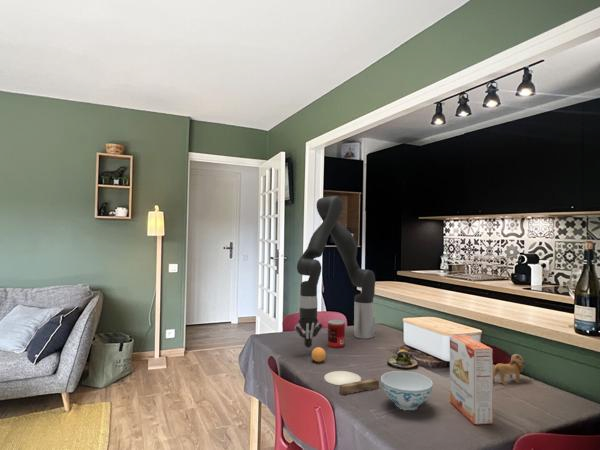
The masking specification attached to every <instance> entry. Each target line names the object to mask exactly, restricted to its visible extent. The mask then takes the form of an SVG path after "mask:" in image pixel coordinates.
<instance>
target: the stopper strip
mask: <svg viewBox="0 0 600 450" xmlns="http://www.w3.org/2000/svg"><path fill="white" fill-rule="evenodd" d="M338 386H339V392H338V393H339V394H341V396H344V395H345V394H346V395H350V394H349V393H351V394H354V392H356V393H360V392H359V391H361V392H365V391H364V390H366V391H370V390H369V389H371V390H376V389H379V388H380V380H379V379H377V378H370V379H364V380H361V381H358V382H353V383H347V384H342V385H338ZM375 388H376V389H375Z"/></svg>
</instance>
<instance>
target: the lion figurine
mask: <svg viewBox="0 0 600 450" xmlns="http://www.w3.org/2000/svg"><path fill="white" fill-rule="evenodd" d="M524 366H525V362H524V358H523V357H522V355H520V354H519V353H515V354H512V355H511V359H510V362H509V363H497V364H495V366H494V367H493V385H495V378H496V376H497V375H498V374H499V377H500V381H501V384H503V385H504V386H508V383H507V382H505V377H506V375H508V380H509V381H513V380H514V379H513V375H514V374H515V383H517V384H521V381H520V376H521V373H522V372H523V370H524Z"/></svg>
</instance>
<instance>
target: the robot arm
mask: <svg viewBox="0 0 600 450" xmlns="http://www.w3.org/2000/svg"><path fill="white" fill-rule="evenodd" d="M343 208H344V203H343V200H342V198H341V197H339V196H337V195H332V196H326V197H320V198H319V199H318V200H317V202H316V211H317V214H318V215H319V217H320V218H321V220H322V223H321V224H320V225H319V226H318V227H317V228H316V229H315V231H313V233H312V235H311V237H310V240H309V242H308V246H307V248H306V249H305V250H304V252H303V254H302V255H301V256H300V257H299V259H298V261H297V264H296V270H297V273H298V274H299V275H301V276H309V277H308V279H307V280H305V281H301V283H300V296H299V298H300V299H299V320H298V323H297V324H295V325H293V328H294V330H295V331H296V333H297V334H298V335H299V336H300V338H301V337H302V338H303V339H304V343H303V344H304V346H305V348H307V349H308V348H311V347H312V345H313V338H315V337H316V336H317V335H318V333H319V332H320V331H321V329H322V328H323V324H322V323H320V322H319V320H318V284H319V281H320V280H319V279H320V276H321V273H322V264H321V262H320V260H318V259H317V258H320V257H322V255H323V253H324V251H325V247H326V244H327V241H328V239H329V236H331V238H332V240H333V243H334V245H335V246H336V249H337V250H338V253H339V254H340V256H341V259H342V262H343V263H344V265H345V268H346V270H347V274H348V277H349V279H350V281H351V284H352V285H353V286H354V287H356V288H361V292H360V293H359V294H356V295H354V298H353V301H354V302H353V303H354V306H353V308H354V311H353V314H354V315H353V316H354V320H353V329H354V333H353V335H354V337H355V338H358V339H363V340H364V339H365V340H366V339H372V338H375V333H376V331H375V329H376V328H375V325H376V323H375V322H376V321H375V319H376V318H375V317H374V297H375V294H376V293H375V289H376V287H375V286H376V275H375V273H374V271H373V270H370V269H365V268H364V269H363V268H361V267H360V265H359V264H358V262H357V255H358V244H357V242H356V240H355V238H354V236H353V234H352V233H351V231H349V230H348V229H347V228H346V227H345V226H343V225H342V224H341V223H340V222H339V221H338V220H339V218H340V216H341V215H342V212H343ZM301 329H302V330H301Z"/></svg>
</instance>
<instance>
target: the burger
mask: <svg viewBox="0 0 600 450" xmlns="http://www.w3.org/2000/svg"><path fill="white" fill-rule="evenodd" d="M396 353H397V354H396V355H395V354H393V355H391V357H388V358H387V362H386V364H387V365H392V366H393V367H396V368H397V367H398V368H404V369H406V368H408V369H409V368H413V367H416V368H419V361H418V360H416V358H415V359H414V358H413V357H411V356H409V351H408V350H406V349H404V348H401V349H399V350H398V351H397V352H396Z"/></svg>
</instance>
